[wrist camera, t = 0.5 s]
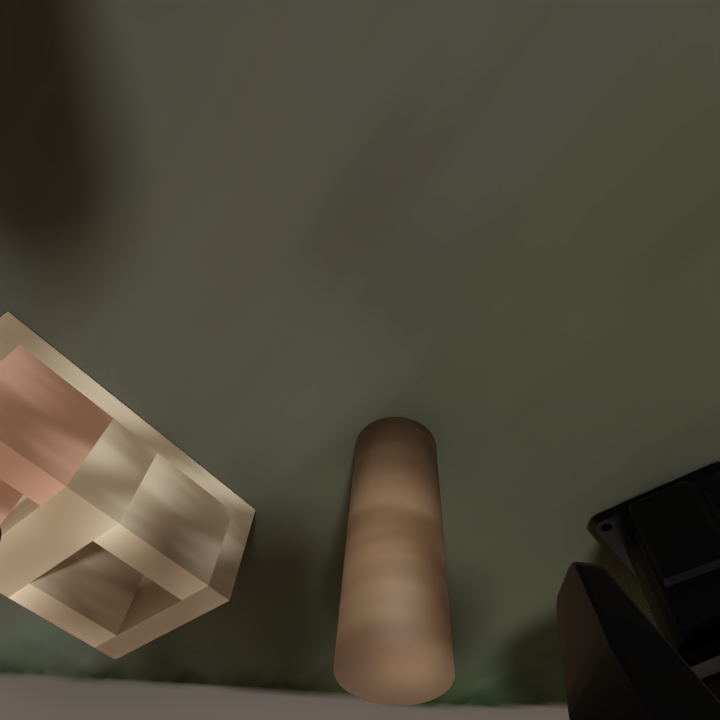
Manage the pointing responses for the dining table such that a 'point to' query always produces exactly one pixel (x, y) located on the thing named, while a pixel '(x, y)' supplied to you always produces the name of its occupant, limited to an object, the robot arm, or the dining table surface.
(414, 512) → the dowel
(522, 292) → the dining table surface
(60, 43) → the dining table surface
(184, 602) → the bore block
